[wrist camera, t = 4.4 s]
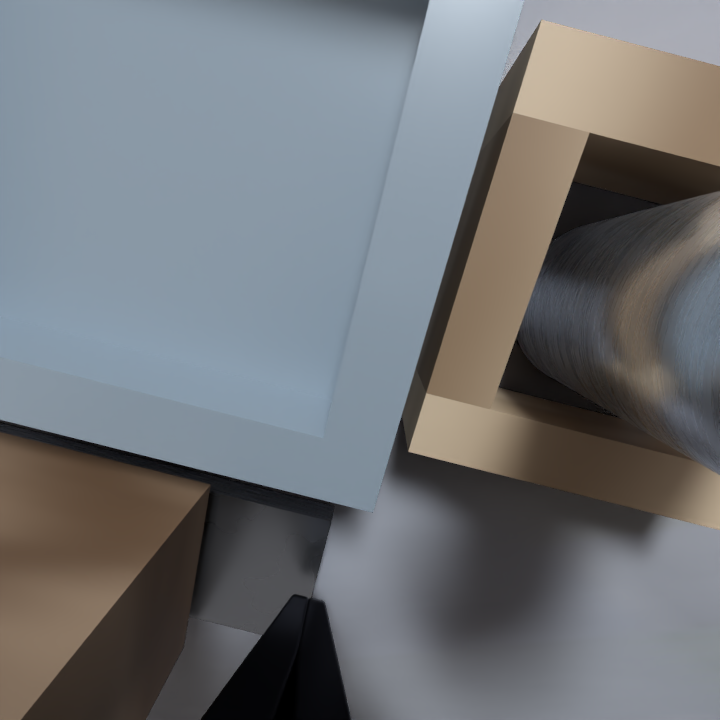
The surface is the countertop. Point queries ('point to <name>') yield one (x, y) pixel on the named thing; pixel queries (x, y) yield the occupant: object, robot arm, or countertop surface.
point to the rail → (240, 543)
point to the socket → (528, 250)
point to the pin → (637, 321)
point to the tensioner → (91, 581)
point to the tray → (234, 222)
